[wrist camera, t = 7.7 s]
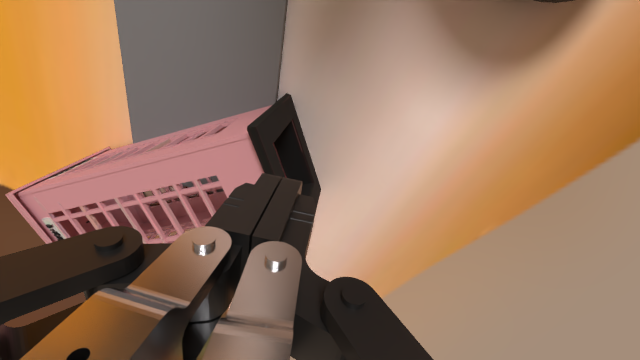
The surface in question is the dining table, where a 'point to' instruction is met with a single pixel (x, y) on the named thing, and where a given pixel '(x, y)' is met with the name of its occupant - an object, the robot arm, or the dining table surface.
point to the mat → (198, 61)
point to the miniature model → (169, 177)
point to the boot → (553, 1)
